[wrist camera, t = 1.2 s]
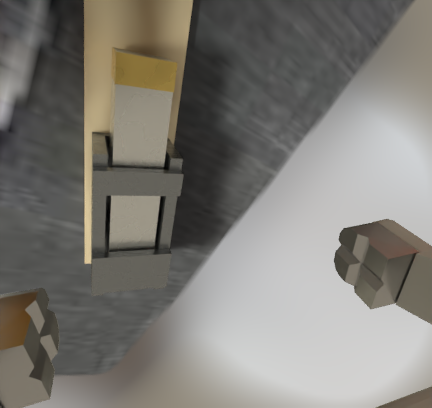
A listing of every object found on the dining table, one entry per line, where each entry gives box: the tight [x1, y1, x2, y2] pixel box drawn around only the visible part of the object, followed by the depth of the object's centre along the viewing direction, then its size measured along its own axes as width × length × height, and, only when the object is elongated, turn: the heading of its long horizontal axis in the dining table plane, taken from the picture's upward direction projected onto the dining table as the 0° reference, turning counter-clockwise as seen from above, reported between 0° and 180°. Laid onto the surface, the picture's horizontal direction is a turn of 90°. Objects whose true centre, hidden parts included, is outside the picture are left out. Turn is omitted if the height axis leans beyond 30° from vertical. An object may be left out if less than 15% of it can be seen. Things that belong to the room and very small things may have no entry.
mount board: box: [84, 0, 193, 264], centre depth 27 cm, size 8×34×1 cm, turn 169°
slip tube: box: [106, 47, 177, 252], centre depth 27 cm, size 4×20×4 cm, turn 169°
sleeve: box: [91, 132, 184, 296], centre depth 29 cm, size 7×14×6 cm, turn 169°
